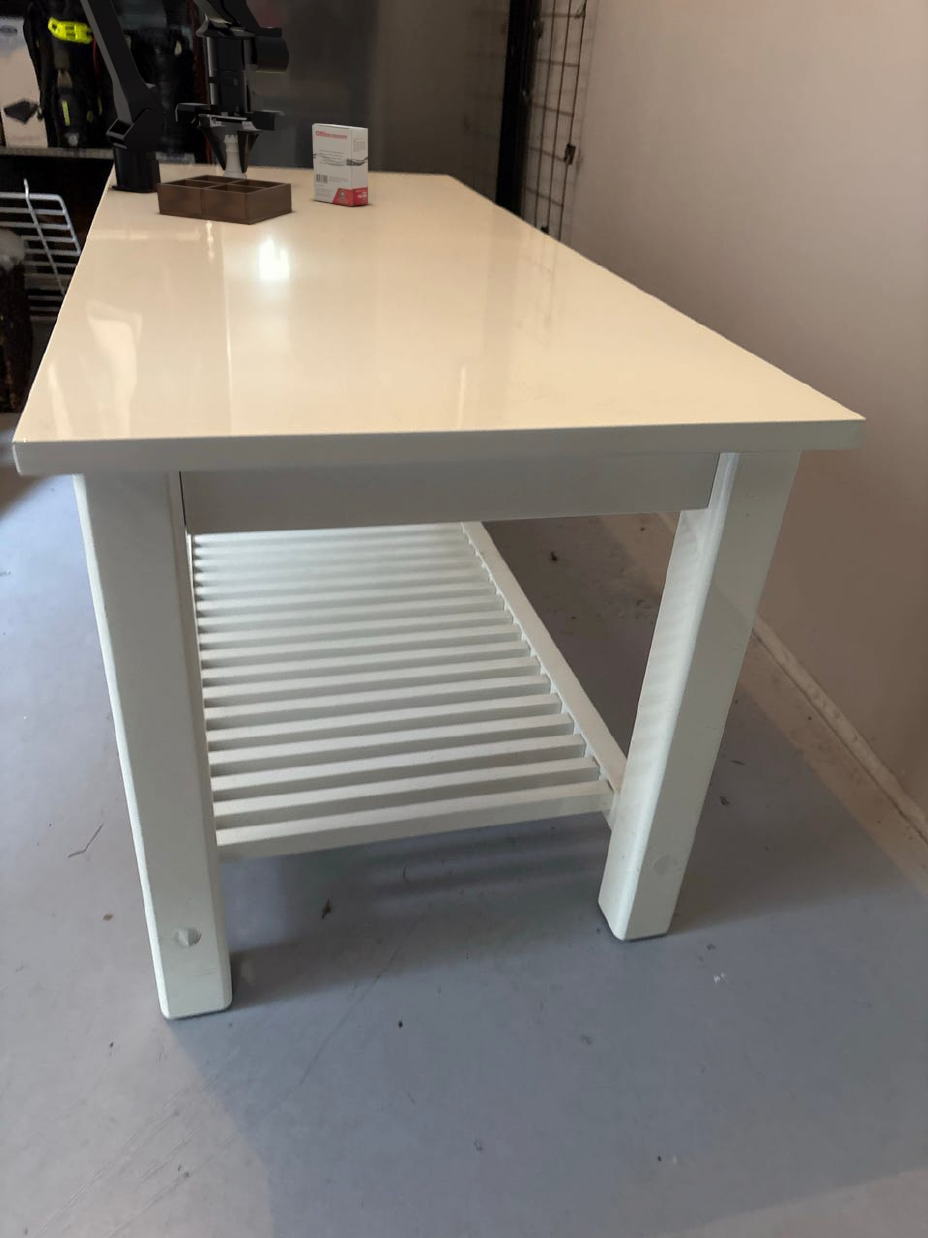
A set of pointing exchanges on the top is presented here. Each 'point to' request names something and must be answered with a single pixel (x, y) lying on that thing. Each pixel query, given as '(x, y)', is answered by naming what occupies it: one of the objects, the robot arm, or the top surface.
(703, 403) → the top surface
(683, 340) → the top surface
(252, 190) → the organizer
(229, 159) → the rook chess piece
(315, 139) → the ink box
